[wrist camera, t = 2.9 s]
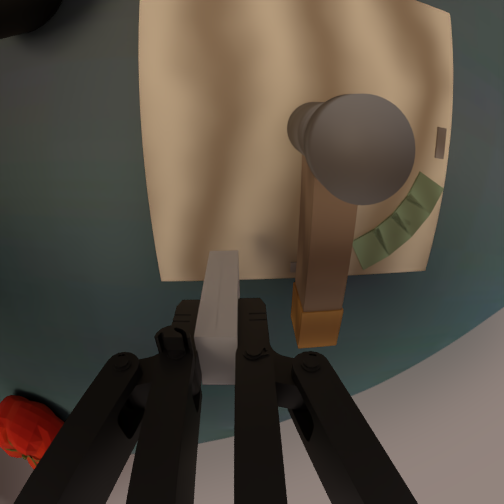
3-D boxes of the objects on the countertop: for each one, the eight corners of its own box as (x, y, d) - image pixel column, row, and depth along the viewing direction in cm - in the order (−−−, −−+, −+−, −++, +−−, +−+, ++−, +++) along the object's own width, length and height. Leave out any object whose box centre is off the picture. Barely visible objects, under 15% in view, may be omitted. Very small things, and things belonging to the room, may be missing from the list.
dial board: (164, 273, 24) (160, 282, 23) (145, -11, 14) (140, -17, 13) (418, 263, 25) (426, 271, 24) (441, 15, 15) (451, 13, 13)
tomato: (92, 427, 36) (77, 483, 27) (58, 436, 39) (44, 481, 30) (22, 374, 31) (-6, 430, 22) (0, 392, 34) (-22, 437, 25)
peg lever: (280, 94, 17) (312, 88, 9) (349, 98, 17) (419, 102, 10) (276, 302, 24) (290, 387, 16) (330, 299, 24) (361, 379, 17)
